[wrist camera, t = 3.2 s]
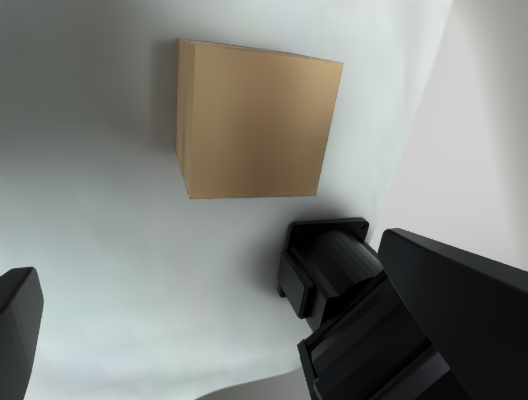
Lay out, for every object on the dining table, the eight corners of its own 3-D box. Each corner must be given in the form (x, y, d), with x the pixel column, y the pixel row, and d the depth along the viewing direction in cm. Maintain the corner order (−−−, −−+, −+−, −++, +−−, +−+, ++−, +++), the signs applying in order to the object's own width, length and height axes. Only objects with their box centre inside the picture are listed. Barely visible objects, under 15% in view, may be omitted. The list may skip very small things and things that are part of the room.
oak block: (288, 52, 19) (343, 63, 14) (273, 155, 22) (315, 195, 16) (178, 38, 17) (195, 44, 12) (176, 153, 20) (189, 199, 14)
